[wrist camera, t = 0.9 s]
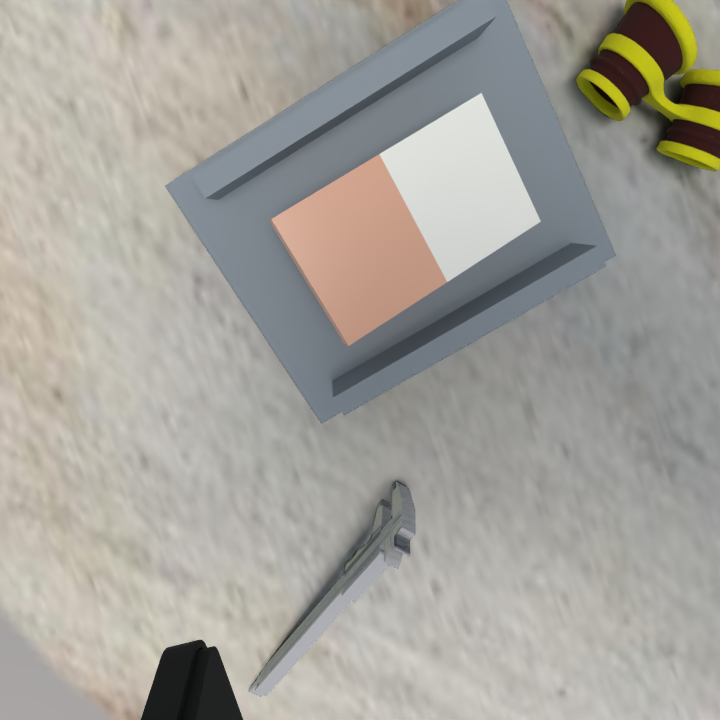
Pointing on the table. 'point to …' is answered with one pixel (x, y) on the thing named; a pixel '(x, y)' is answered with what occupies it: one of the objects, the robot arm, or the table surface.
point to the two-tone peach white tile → (407, 220)
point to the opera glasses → (658, 79)
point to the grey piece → (360, 144)
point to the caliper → (348, 583)
